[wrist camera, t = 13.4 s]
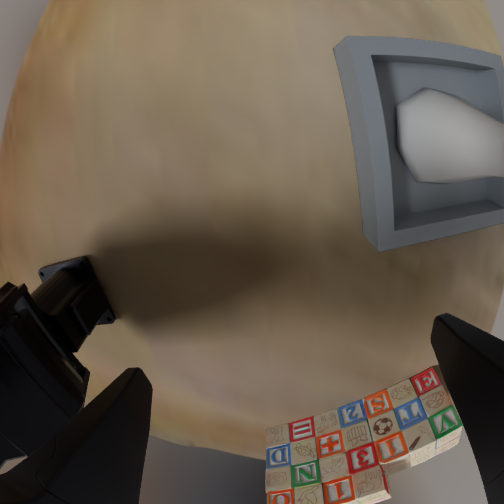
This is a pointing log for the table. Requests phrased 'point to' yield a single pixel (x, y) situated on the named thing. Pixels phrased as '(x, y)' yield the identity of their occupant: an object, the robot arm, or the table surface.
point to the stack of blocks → (360, 445)
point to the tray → (385, 136)
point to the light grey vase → (448, 139)
